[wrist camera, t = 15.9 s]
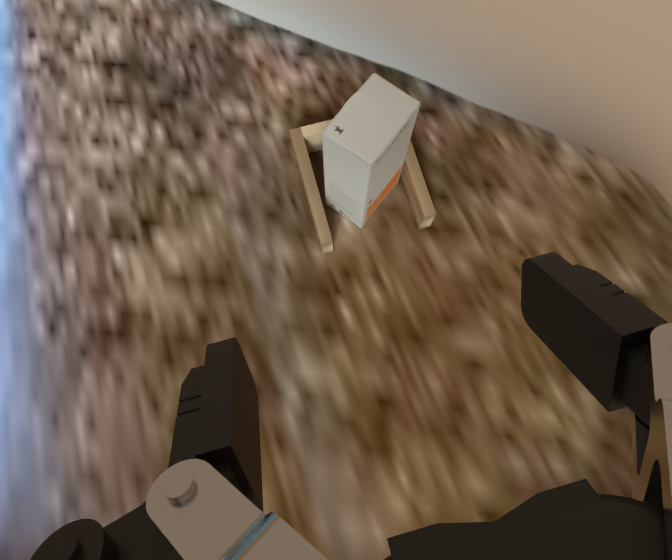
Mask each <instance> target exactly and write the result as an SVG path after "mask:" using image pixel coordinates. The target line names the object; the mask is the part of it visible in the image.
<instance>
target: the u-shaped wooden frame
mask: <svg viewBox="0 0 672 560" xmlns="http://www.w3.org/2000/svg"><path fill="white" fill-rule="evenodd" d="M331 121H332V120H328V121H323V122H319V123H315V124H311V125H307V126H303V127H299V128H295V129H291V130H290V134H291V139H292V145H293V149H294V153H295V156H296V160H297V164H298V167H299V171H300V174H301V178H302V182H303V185H304V189H305V193H306V196H307V200H308V204H309V207H310V211H311V214H312V218H313V222H314V225H315V229H316V233H317V236H318V240H319V244H320V247H321V251H322V255H323V254H326V253H330V252H333V240H332V237H331V233H330V230H329V226H328V222H327V219H326V215H325V212H324V208H323V205H322V201H321V198H320V194H319V191H318V187H317V184H316V180H315V176H314V173H313V169H312V166H311V162H310V159H309V155H308V154H309V153H313V152H317V151H321V150H323V146H322V131H323V130H324V129H325V128H326V126H327V125H328V124H329V123H330V122H331ZM400 174H401V177H402V180H403V183H404V186H405V189H406V192H407V195H408V198H409V201H410V204H411V207H412V210H413V213H414V216H415V219H416V222H417V225H418V228H419V229H422V228H426V227H429V226H430V225H431V223H432V221H433V219H434V217H435V215H436V212H435V209H434V206H433V203H432V200H431V198H430V195H429V192H428V189H427V186H426V183H425V180H424V177H423V174H422V172H421V169H420V166H419V163H418V160H417V157H416V154H415V151H414V148H413V146H412V143H411V140H410V142H409V145H408V149H407V152H406V156H405V159H404V163H403V166H402V170H401V173H400Z"/></svg>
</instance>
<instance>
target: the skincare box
mask: <svg viewBox="0 0 672 560" xmlns="http://www.w3.org/2000/svg"><path fill="white" fill-rule="evenodd" d="M420 104H421V103H420V102H419V101H418V100H416V99H414V98H413V97H411V96H410V95H408V94H406V93H405V92H403V91H402V90H400V89H399V88H397V87H396V86H394V85H393V84H391V83H390V82H388V81H387V80H385V79H384V78H382V77H381V76H379V75H378V74H377V73H373V74H371V75H370V77H369V78H368V79H367V80H366V81H365V82H364V84H363V85H362V86H361V87H360V88H359V89H358V91H357V92H356V93H355V94H354V95H352V96H351V97H350V98H349V100H348V101H347V102H346V103H345V104H344V106H343V107H342V109H341V110H340V111H339V112H338V113H337V115H336V116H335V117H334V118H333V119H332V121H331V122H330V123H329V124H328V125H327V126H326V128H325V129H324V130H323V131H322V146H323V164H324V182H325V201H326V204H327V205H329V206H330V207H332V208H333V209H334V210H336V211H337V212H339V213H340V214H341V215H343V216H344V217H346V218H347V219H348V220H350V221H351V222H353V223H354V224H355V225H357V226H358V227H360V228H362V227H363V226H364V224H365V223H366V221H367V220H368V219H369V217H370V216H371V215H372V214H373V212H374V211H375V210H376V208H377V207H378V206H379V204H380V203H381V202H382V201H383V200H384V198H385V197H386V196H387V195H388V193H389V192H390V191H391V190H392V189H393V187H394V186H395V185H396V184H397V182H398V180H399V176H400V173H401V170H402V166H403V163H404V159H405V156H406V152H407V149H408V145H409V142H410V139H411V135H412V132H413V128H414V124H415V121H416V118H417V114H418V111H419V107H420Z"/></svg>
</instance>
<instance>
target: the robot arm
mask: <svg viewBox="0 0 672 560" xmlns="http://www.w3.org/2000/svg"><path fill="white" fill-rule="evenodd" d="M521 309H522V313H523V316H524V319H525V321H526V323H527V324H528V326H529V327H530V328H531V329H532V330H533V331H534V333H535V334H536V335H537V336H538V337H539V338H540V339H541V340H542V341H543V342H544V343H545V344H546V345H547V346H548V348H549V349H550V350H551V351H552V352H553V353H554V354H555V355H556V356H557V357H558V358H559V359H560V360H561V361H562V363H563V364H564V365H565V366H566V367H567V368H568V369H569V370H570V371H571V372H572V373H573V374H574V375H575V377H576V378H577V379H578V380H579V381H580V382H581V383H582V384H583V385H584V386H585V387H586V388H587V389H588V390H589V392H590V393H591V394H592V395H593V396H594V397H595V398H596V399H597V400H598V401H599V402H600V403H601V404H602V406H603V407H604V408H605V409H606V410H607V411H608V412H610V411H614V410H617V409H620V408H624V407H627V406H628V407H629V408H630V409H631V410H632V411H633V412H634V413H633V418H632V451H633V499H632V498H628V497H622V496H617V495H605V494H597V493H596V492H595V490H594V489H593V488H592V486H591V485H590V484H589V482H588V481H587V480H586V479H583V480H580V481H577V482H573V483H570V484H567V485H563V486H560V487H557V488H553V489H550V490H547V491H544V492H540V493H537V494H536V495H534V496H533V497H531V498H530V499H528V500H527V501H525V502H524V503H522V504H521V505H519V506H518V507H516V508H515V509H513V510H512V511H510V512H509V513H507V514H506V515H504V516H503V517H501V518H500V519H498V520H496V521H492V522H472V523H439V524H434V525H430V526H427V527H424V528H420V529H417V530H414V531H411V532H407V533H404V534H401V535H397V536H394V537H391V538H387V540H388V544H389V548H390V552H391V555H390V556H388V557H387V558H385V559H384V560H672V323H668V322H667V321H666V320H664V319H663V318H661V317H660V316H659V315H657V314H656V313H654V312H653V311H652V310H650V309H649V308H647V307H646V306H645V305H643V304H642V303H640V302H639V301H638V300H636V299H635V298H633V297H632V296H631V295H629V294H628V293H624V290H622V289H621V288H619V287H618V286H617V285H615V284H612V282H611V281H610V280H608V279H607V278H605V277H604V276H603V275H601V274H600V273H598V272H597V271H594V270H591V269H589V268H586V267H583V266H580V265H577V264H576V265H571V264H570V263H569V262H567V261H566V260H565V259H563V258H562V257H561V256H559V255H558V254H556V253H554V252H551V253H547V254H543V255H540V256H536V257H532V258H529V259H525V260H524V262H523V264H522V286H521ZM179 402H180V404H178V410H177V416H178V417H176V423H175V429H174V435H173V442H172V448H171V454H170V460H169V467H168V469H167V470H166V471H164V472H163V473H162V474H161V475H160V476H159V477H158V478H157V479H156V481H155V482H154V483H153V485H152V486H151V488H150V490H149V493H148V496H147V500H146V502H144V503H143V504H142V505H141V506H139V507H138V508H136V509H134V510H133V511H131V512H129V513H128V514H126V515H124V516H123V517H121V518H119V519H117V520H116V521H114V522H112V523H111V524H109V525H107V526H105V527H104V528H103V527H102V526H101V525H100V524H99V523H98V522H97V521H95V520H92V519H80V520H76V521H73V522H71V523H68V524H66V525H65V526H63V527H61V528H60V529H58V530H57V531H55V532H54V533H53V534H52V535H50V536H49V537H48V538H47V539H46V540H45V541H44V542H43V543H42V544H41V546H40V547H39V548H38V549H37V550H36V552H35V553H34V555H33V556H32V558H31V560H328V559H327V558H326V557H324V556H323V555H322V554H321V553H320V552H319V551H318V550H316V549H315V548H314V547H313V546H312V545H311V544H310V543H309V542H307V541H306V540H305V539H304V538H303V537H302V536H301V535H300V534H298V533H297V532H296V531H295V530H294V529H293V528H292V527H291V526H289V525H288V524H287V523H286V522H285V521H284V520H283V519H281V518H280V517H279V516H278V515H276V514H274V513H272V512H270V513H269V514H268V515H266V514H264V513H263V496H262V474H261V453H260V431H259V409H258V396H257V391H256V387H255V383H254V380H253V377H252V375H251V372H250V370H249V367H248V365H247V362H246V360H245V357H244V355H243V352H242V350H241V347H240V345H239V343H238V341H237V339H236V338H235V337H234V338H231V339H227V340H223V341H219V342H216V343H212V344H208V345H207V347H206V355H205V365H204V366H200V367H196V368H193V369H191V371H190V372H189V374H188V375H187V377H186V379H185V380H184V382H183V383H182V385H181V392H180V398H179Z"/></svg>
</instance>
